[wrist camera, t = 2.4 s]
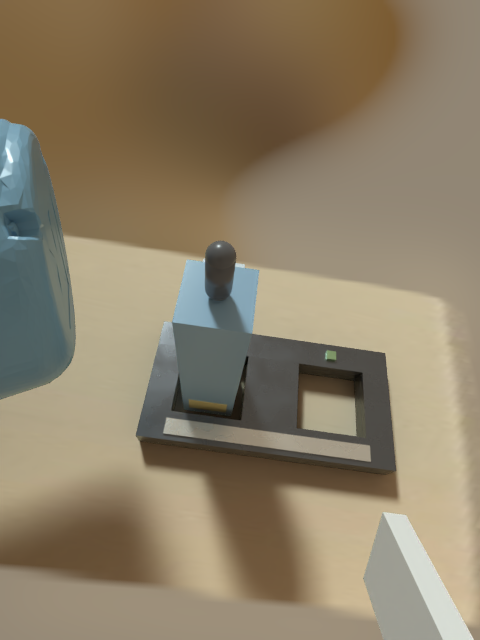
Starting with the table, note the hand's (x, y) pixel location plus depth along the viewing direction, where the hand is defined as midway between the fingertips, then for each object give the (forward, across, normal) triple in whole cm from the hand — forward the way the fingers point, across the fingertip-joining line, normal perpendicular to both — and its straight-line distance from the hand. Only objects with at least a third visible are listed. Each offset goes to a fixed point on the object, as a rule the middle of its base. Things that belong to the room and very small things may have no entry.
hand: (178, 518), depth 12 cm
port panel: (+20, +5, -5) cm, 21 cm away
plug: (+20, 0, -5) cm, 20 cm away
